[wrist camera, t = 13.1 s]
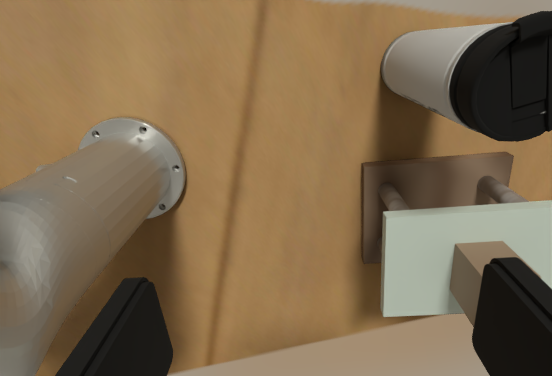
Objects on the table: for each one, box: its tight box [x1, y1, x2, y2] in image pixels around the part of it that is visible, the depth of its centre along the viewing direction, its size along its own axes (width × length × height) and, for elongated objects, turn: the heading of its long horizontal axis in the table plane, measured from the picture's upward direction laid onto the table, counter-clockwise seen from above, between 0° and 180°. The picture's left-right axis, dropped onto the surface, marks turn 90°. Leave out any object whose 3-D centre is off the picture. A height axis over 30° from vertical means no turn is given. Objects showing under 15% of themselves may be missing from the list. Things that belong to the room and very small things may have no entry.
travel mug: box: [381, 11, 552, 141], centre depth 26 cm, size 6×7×20 cm
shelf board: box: [380, 200, 552, 327], centre depth 29 cm, size 16×11×6 cm
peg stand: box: [362, 152, 529, 264], centre depth 37 cm, size 16×13×10 cm
